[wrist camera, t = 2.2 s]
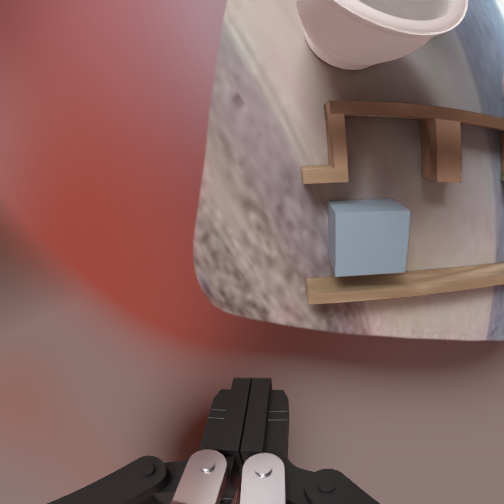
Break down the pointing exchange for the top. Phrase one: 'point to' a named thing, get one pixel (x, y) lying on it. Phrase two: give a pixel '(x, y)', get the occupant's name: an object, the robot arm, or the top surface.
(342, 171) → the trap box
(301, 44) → the top surface
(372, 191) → the top surface
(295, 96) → the top surface
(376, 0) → the jar
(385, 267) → the block
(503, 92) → the white cylinder
